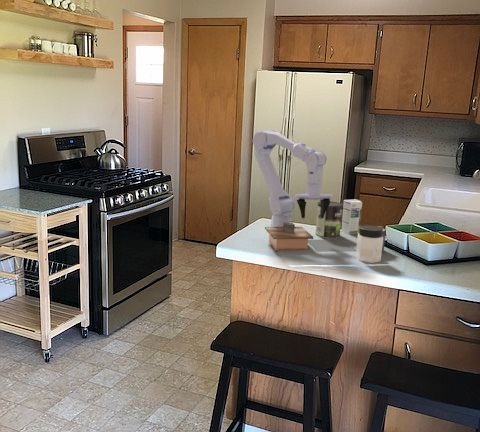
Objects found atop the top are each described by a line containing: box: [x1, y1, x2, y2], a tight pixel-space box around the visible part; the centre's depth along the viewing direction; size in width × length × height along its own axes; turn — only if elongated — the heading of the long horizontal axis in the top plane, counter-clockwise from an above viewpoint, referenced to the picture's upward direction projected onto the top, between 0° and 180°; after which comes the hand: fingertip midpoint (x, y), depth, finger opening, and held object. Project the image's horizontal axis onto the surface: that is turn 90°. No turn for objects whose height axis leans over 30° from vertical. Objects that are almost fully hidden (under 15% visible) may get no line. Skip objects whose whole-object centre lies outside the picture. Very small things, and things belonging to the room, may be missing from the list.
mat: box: [308, 239, 356, 253], centre depth 197 cm, size 16×16×1 cm
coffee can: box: [315, 200, 344, 239], centre depth 210 cm, size 10×10×14 cm
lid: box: [264, 221, 314, 240], centre depth 193 cm, size 15×15×4 cm
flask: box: [377, 225, 387, 253], centre depth 189 cm, size 9×3×11 cm, turn 138°
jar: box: [355, 224, 384, 264], centre depth 180 cm, size 9×8×12 cm
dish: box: [268, 233, 309, 252], centre depth 194 cm, size 12×12×5 cm
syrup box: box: [340, 199, 363, 235], centre depth 217 cm, size 6×6×14 cm
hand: (312, 217), depth 198 cm, fingers open, 7 cm apart
